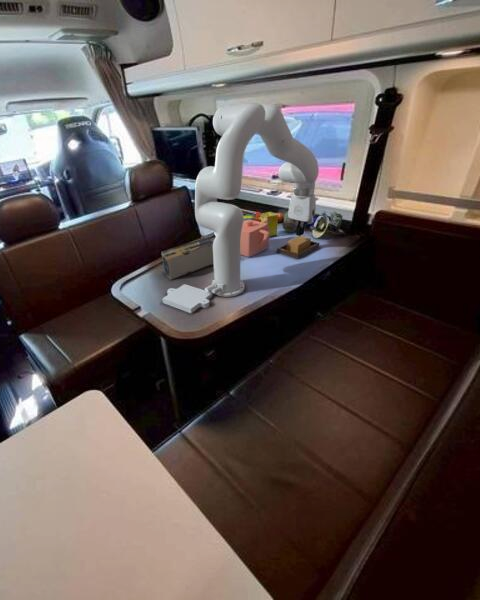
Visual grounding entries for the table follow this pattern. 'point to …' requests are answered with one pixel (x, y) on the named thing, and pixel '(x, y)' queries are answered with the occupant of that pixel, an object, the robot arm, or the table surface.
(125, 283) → the table surface
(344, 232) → the cream rimmed round part
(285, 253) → the brown wooden tray
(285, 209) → the eraser
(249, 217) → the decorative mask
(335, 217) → the toy vehicle
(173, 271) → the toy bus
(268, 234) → the pink jerry can
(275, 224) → the supplement box
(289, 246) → the tan rectangular block
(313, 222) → the figurine
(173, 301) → the mounting plate
